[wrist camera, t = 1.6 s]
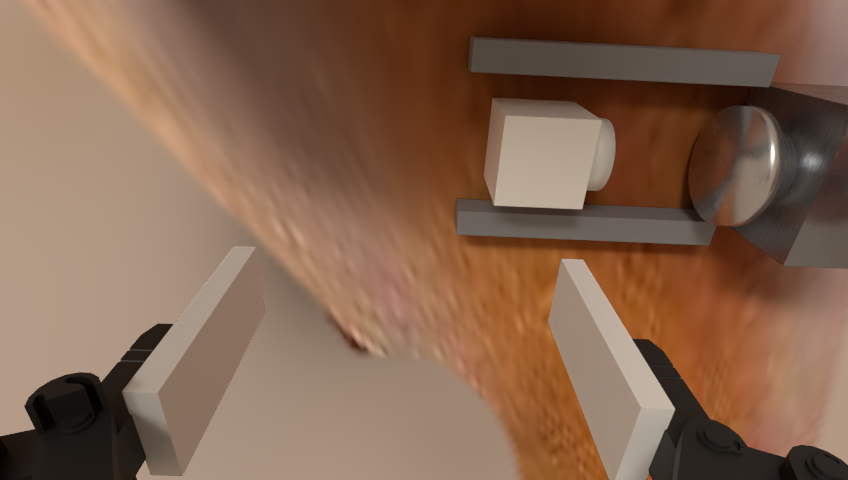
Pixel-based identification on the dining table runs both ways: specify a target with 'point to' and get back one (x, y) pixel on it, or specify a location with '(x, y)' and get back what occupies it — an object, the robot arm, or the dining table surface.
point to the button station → (779, 173)
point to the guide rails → (604, 65)
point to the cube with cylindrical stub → (546, 153)
